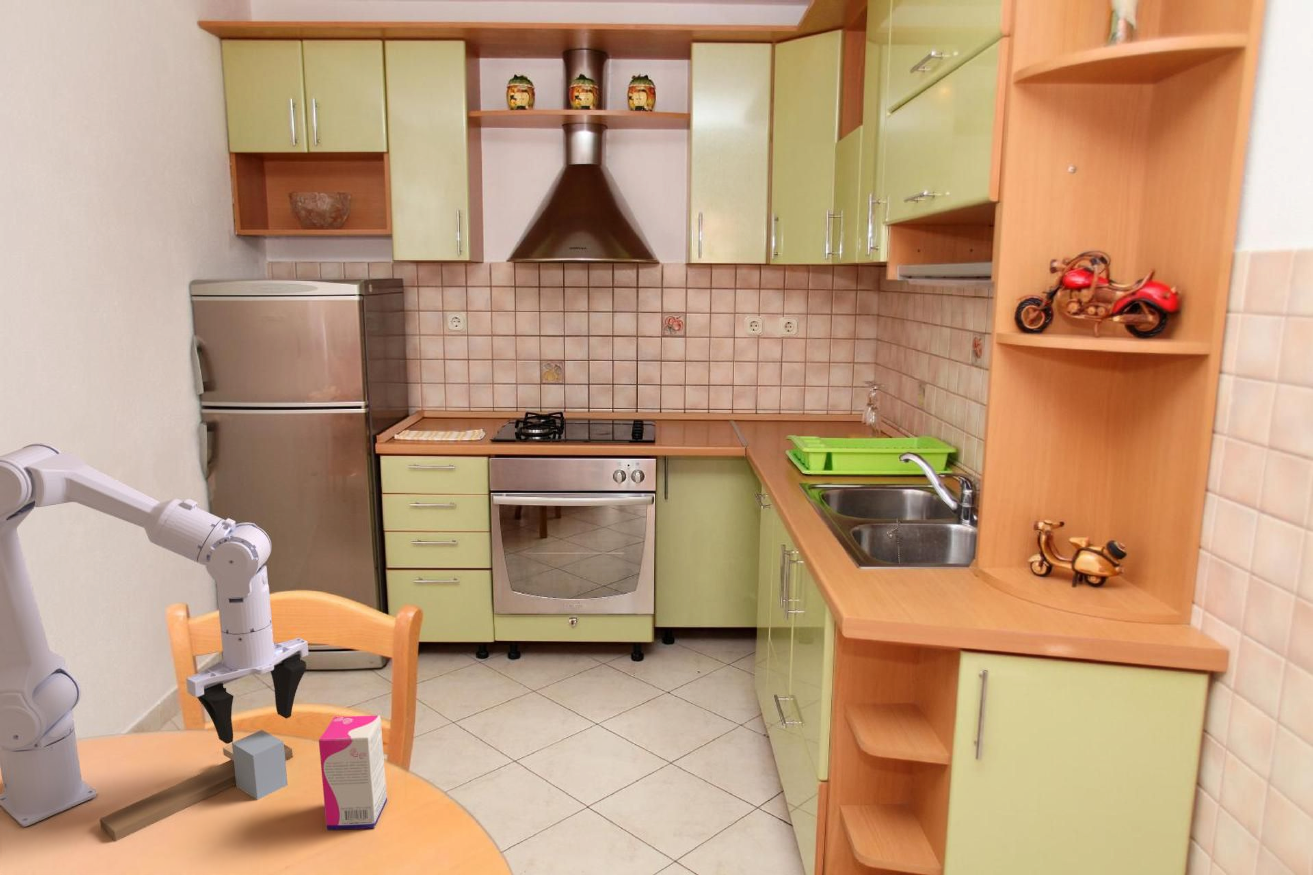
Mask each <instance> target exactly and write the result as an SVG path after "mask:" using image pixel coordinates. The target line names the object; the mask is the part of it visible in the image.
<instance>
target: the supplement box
mask: <svg viewBox="0 0 1313 875" xmlns="http://www.w3.org/2000/svg"><path fill="white" fill-rule="evenodd" d="M382 733H383V732H382V720H381V715H357V716H355V715H353V716H352V715H351V716H350V715H349V716H334V718H332V720H331V721H330V722H329V725H328V726H327V728H326V729H325V731H324V732H323V734H322V735H321V736H320V737H319V739H318V747H319V758H320V767H321V780H322V791H323V802H324V803H323V804H324V814H325V827H326V830H329V831H330V830H353V829H356V830H358V829H375V828H376V826H377V824H378V821H379V819H380V817H381V815H382V813H383V811H384V809H385V806H386V804H387V801H388V797H387V795H388V794H387V784H386V773H385V772H386V770H385V759H384V746H383V745H384V744H383V734H382Z"/></svg>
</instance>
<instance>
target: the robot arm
mask: <svg viewBox="0 0 1313 875" xmlns="http://www.w3.org/2000/svg"><path fill="white" fill-rule="evenodd" d="M67 503H77V504H79V505H82V506H85V507H87V508H90V509H92V510H95V511H99V512H100V513H103V514H107V515H109V516H112V517H114V518H117V519H120V520H122V521H124V522H128V523H129V524H133V525H136V526H138V527H140V528H143V529H144V530H145V533H146V535H147V538H148V540H149V542H150V543H151V544H154V545H156V546H159V547H161V548H163V549H165V550H168V551H170V552H173V553H174V554H177V555H179V556H182V557H184V558H186V559H189V560H191V561H193V562H196V563H198V564H200V565H203V566H205V570H206V571H207V573H208V574H209V576H210V577H211V578H212V579H213V580H214V581H215V582H216V591H217V592H216V593H217V594H216V595H217V604H218V605H217V607H218V616H219V624H220V625H219V626H220V635H221V636H220V637H221V646H222V657H223V659H221V660H219V661H217V662H216V663H214V664H213V665H211V666H209V667H207V668H205V669H203V670H201V671H199V672H197V673H196V674H193V675H191V676H187V677H186V678H185V680H186V689H187V693H188V694H189V695H190V696H191V697H194V698H197V699H198V701H199V702H200V703H201V705H202V706H203V707H204V709H205V710H206V712H207V714H208V716H209V718H210V719H211V721H212V723H213V725H214V728H215V731H216V733H217V736H218V740H220V741H221V742H223V743H225V744H226V745H230V743H231V744H232V743H233V742H234V730H233V721H232V715H233V714H232V710H233V703H234V695H233V694H231V693H229V692H228V691H227V687H224V685H227V684H229V683H231V682H234V681H236V680H237V681H238V679H242V678H245V677H248V676H250V675H254V674H256V675H265V674H266V673H267V674H268V673H270V675H271V678H272V683H273V688H274V701H275V709H276V714H277V715H278V716H281V717H283V719H289V718H291V717H292V712H293V705H294V701H295V696H296V694H297V691H298V687H299V685H300V682H301V680H302V678H303V676H304V674H305V673H306V671H307V662H306V661H305V660H303V659H301V658H305V657H306V656H307V657H308V656H309V647H308V646H309V645H308V641H307V640H306V639H303V638H300V637H297V638H293V639H291V640H287V641H282V642H276V643H274V634H273V620H272V608H271V606H272V605H271V596H270V586H269V581H268V580H269V579H268V568H267V565H264V564H266V562H267V561H268V559H269V557H270V555H271V552H272V541H271V539H270V537H269V535H268V534H267V532H266V531H265V530H264V529H263V528H261V527H259V526H258V525H257V524H255V523H254V522H240V523H239V522H238V523H236V520H233V519H231V518H229V517H227V519H224V518H221V517H219V516H217V515H215V514H213V513H210V512H208V511H206V510H203V509H201V508H199V507H197V505H198V501H195V500H194V499H193V500H192V499H191V498H186V499H185V500H181V499H179V498H174V499H170V500H167V501H161V502H160V501H159V500H156V499H154V498H152V497H150V496H149V495H147V494H145V493H144V492H141V491H140V490H137V489H135V488H133V487H131V486H130V485H127V484H125V483H123V482H122V481H119V480H117V479H115V478H114V477H112V476H110V475H108V474H106V473H103V472H102V471H99V470H98V469H96V468H94V467H92V466H90V465H88V464H87V463H85V461H83V460H81V458H79V457H78V456H77V455H76V454H74V453H70V452H67V451H61V450H60V449H59V448H58V447H55V446H54V445H51V444H47V443H38V442H35V443H32V444H28V445H25V446H23V447H22V448H20V449H17V450H15V451H12V452H9V453H6V454H3V455H1V456H0V775H1V781H2V787H3V793H0V806H1V808H3V810H5V811H6V812H7V813H8V814H9V815H10V816H11V817H12V818H13V819H14V820H15V821H16V822H18V824H19V825H20V826H21V827H28V826H31V825H33V824H35V823H37V822H40V821H42V820H45V819H48V818H49V817H52V816H54V815H56V814H59V813H61V812H64V811H66V810H68V809H71V808H72V807H75V806H77V805H79V804H82V803H84V802H86V801H88V800H92V799H93V798H95V797H97V793H98V792H97V791H96V790H95V789H94V788H92V787H91V786H90V785H89V784H87V783H86V782H85V781H84V780H83V779H82V774H81V773H82V771H81V765H80V758H79V751H78V743H77V737H76V730H75V723H74V722H75V721H74V708H75V707H76V706H77V705H78V704H79V701H80V700H81V697H82V688H81V684H80V682H79V680H78V679H77V677H76V676H75V675H74V674H73V673H72V672H71V671H70V670H69V668H68V666H67V663H66V659H65V658H64V656H63V655H60V654H58V653H56V652H53V651H51V650H50V647H49V643H48V639H47V636H46V632H45V628H44V625H43V622H42V618H41V614H40V610H39V606H38V604H37V599H36V596H35V592H34V589H33V586H32V581H31V578H30V574H29V570H28V566H27V564H26V559H25V555H24V552H23V549H22V545H21V542H20V539H19V534H18V527H19V526H20V525H21V523H22V522H24V520H25V519H26V518H27V517H28V516H29V515H30V513H31V512H32V511H33V510H34V508H42V507H48V506H54V505H60V504H67Z"/></svg>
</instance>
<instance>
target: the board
mask: <svg viewBox="0 0 1313 875" xmlns="http://www.w3.org/2000/svg"><path fill="white" fill-rule="evenodd" d="M284 751H285V761H287V760H290V759H291V758H293V748H292V747H290V746H288V745H287V744H284ZM232 786H236V777H235V768H234V761H233V760H231V759H229V760H227V761H224V762H223V763H221V764H218V765H216V766H213V767H211V768H210V769H207V770H205V771H202V772H200V773H198V774H196V775H194V776H192V777H189V778H187V779H185V780H182V781H181V782H178V783H176V784H174V785H172V786H170V787H167V788H165V789H162V790H161V791H158V792H157V793H156V792H155V793H154V794H151V795H150V796H147V797H145V798H143V799H140V800H139V801H136V802H134V803H132V804H129V805H128V806H127V805H126V806H125V807H123V808H121V809H119V810H117V811H114V812H111V813H109V814H107V815H105V816H103V817H100V818H99V823H100V824H99V825H100V829H101V830H103V832H105V833H106V834H107V835H109V836H110V838H112V839H113V838H114V839H113V840H115V841H116V842H117V841H119V840H120V838H121V839H123V838H125V837H127V836H129V835H131V833H132V834H133V833H136V832H137V831H140V830H142V829H145V828H146V827H148V826H150V825H153V824H154V823H157V822H159V821H161V820H163V819H165V818H167V817H169V816H171V815H174V814H176V813H178V812H180V811H181V810H184V809H186V808H188V807H190V806H192V805H195V804H197V803H199V802H200V801H203V800H206V799H207V798H209V797H211V796H214V795H216V794H217V793H221V792H222V791H224V790H226V789H228V788H230V787H232ZM126 835H127V836H126Z"/></svg>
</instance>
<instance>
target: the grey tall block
mask: <svg viewBox="0 0 1313 875" xmlns="http://www.w3.org/2000/svg"><path fill="white" fill-rule="evenodd" d="M284 745H285V742H284V741H283V740H281V739H280V738H278V737H275V735H273V734H270V732H269V733H268V732H267V731H265V730H264V729H261V730H258V731H256V732H254V733H252V734H249V735H247V736H245V737H243V738H240V739H237V740H236V741H233V742H231V744H230V743H229V744H227V745H226V746H224V747H222V751H223V753H222V754H223V755H224V756H225V757H226V758H228V759H229V760H233V761H234V768H235V777H236V784H235V786H236V787H237V788H239V789H240V790H242V791H243V792H244V793H246V794H248V795H250V796H251V797H252V798H254V799H255V800H257V801H258V800H261V799H262V798H265V797H266V796H269V795H270V794H273V793H275V792H276V791H278V790H281V789H282V788H283V789H284V788H285V787H286V786H288V785H289V784H288V774H287V764H286V760H285V751H284Z"/></svg>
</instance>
